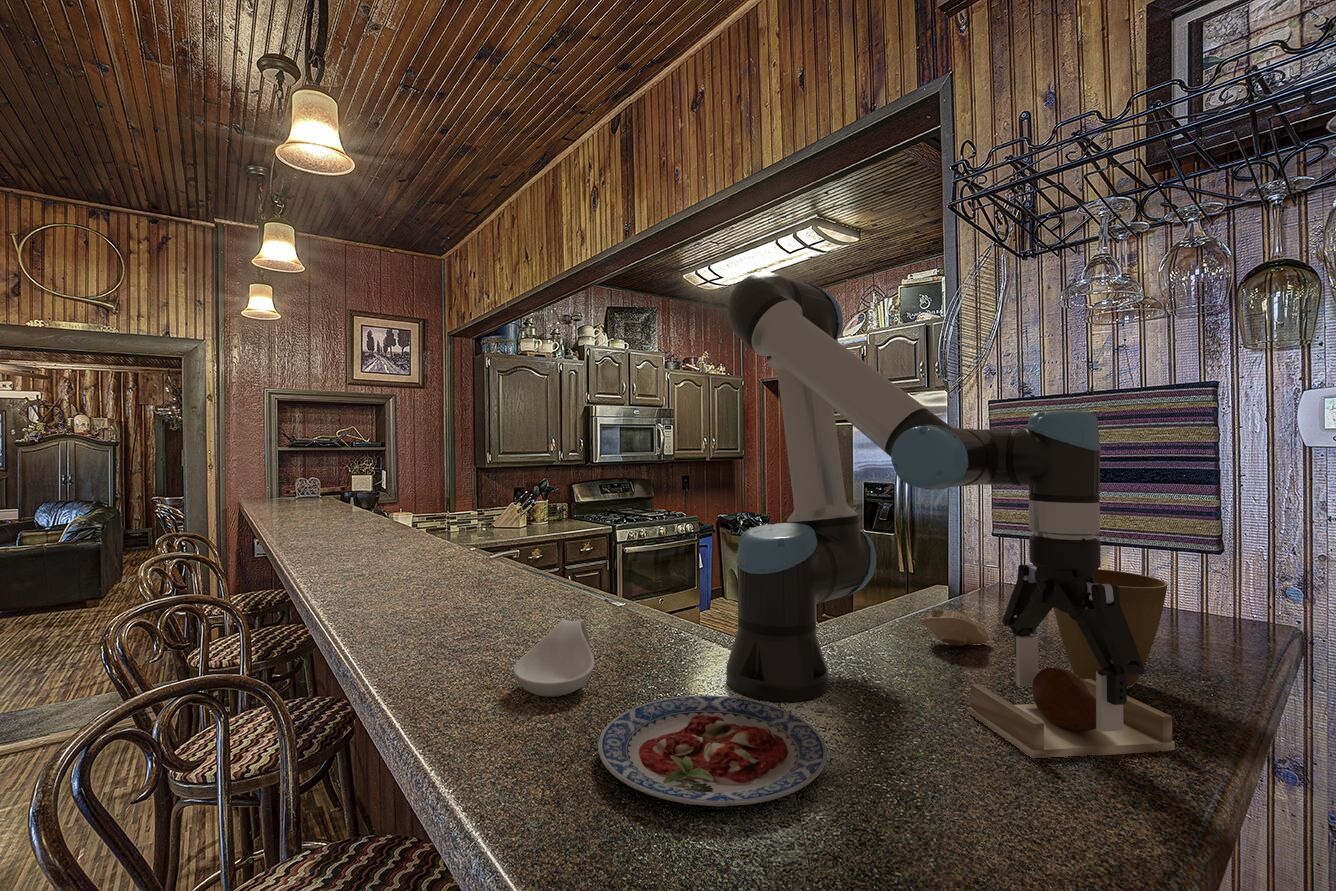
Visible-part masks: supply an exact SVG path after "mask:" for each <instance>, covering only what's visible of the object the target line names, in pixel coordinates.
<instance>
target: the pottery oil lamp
mask: <svg viewBox="0 0 1336 891" xmlns="http://www.w3.org/2000/svg"><path fill="white" fill-rule="evenodd" d="M922 621H923V622H922V623H923V625H924V627H926V629H927V630H928V631H929V632H930V633H931V634H932V635H934V636H935V637H936V638H938V639H939V640H940V641H941V642H942V643H945V644H948V645H952V646H961V647H962V646H966V645H968V646H974V645H973V644H982V643H985V644H987V643H988V642H989V641H990V637H989V635H988V632H987V631H986V630H985V629H983V628H981V627H980V626H979V625H977V624H976V623H975V622H973V620H972V619H970V617H969V616H968V615H966V614H965V613H964V612H962V611H959V610H954V609H953V610H951V609H945V610H940V609H935V610H931V613H930V614H929V615H927V616H926V618H924V619H923V620H922ZM986 642H987V643H986ZM965 644H966V645H965ZM971 644H972V645H971Z"/></svg>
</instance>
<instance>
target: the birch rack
mask: <svg viewBox="0 0 1336 891" xmlns="http://www.w3.org/2000/svg"><path fill="white" fill-rule="evenodd" d="M1082 681H1083V682H1084V683H1085V685H1086V687H1087V688H1088V690H1089V692H1090V693H1091V694H1092V695H1093V696H1094V697H1095V698H1096V681H1094V680H1092V679H1082ZM1126 696H1127V701H1126V704H1123V731H1106V732H1101V731H1099V730H1098V729H1094V730H1090V731H1073V730H1070V729H1066V728H1063V727H1060V726H1058V725H1056V724H1055V723H1054V722H1052V721H1051V720H1049V719H1047V718H1046V717H1045V716H1044V715H1043V714H1042V713H1041V712H1040V711H1039V709H1038V708H1037V706H1036V703H1028V704H1027V703H1026V704H1025V703H1023V704H1013V703H1011V702H1009V701H1008V700H1006V699H1005V698H1003V697H1001V696H1000V695H998V694H996V693H994V692H993V691H992V690H990V689H989V688H986V687H985V686H984V685H982V684H980V683H975V684H973V683H972V684H970V706H969V707H968V714H969V713H970V714H971V715H972V716H974V717H975V718H977V719H978V720H980V721H981V722H983V723H984V724H985V725H987V726H989V727H990V728H992V729H993V730H994V731H996V732H997V733H998V734H1000V735H1001V736H1002V737H1004V738H1005V739H1006V740H1008V741H1009V742H1011V743H1012V744H1014V745H1015V746H1016V747H1017V748H1019V749H1021V750H1022V751H1023V752H1025V753H1026V754H1028V755H1029V756H1030V757H1032V758H1040V757H1041V758H1043V757H1044V758H1045V757H1064V758H1072V757H1071V756H1080V757H1088V756H1087V755H1090V756H1089V757H1092V756H1091V755H1094V756H1095V755H1096V756H1111V755H1123V754H1124V755H1125V754H1127V755H1129V754H1139V753H1140V754H1142V753H1143V754H1144V752H1145V753H1159V751H1161V752H1173V751H1172V750H1175V746H1176V745H1175V741H1174V740H1173V716H1172V715H1170V714H1168V713H1165V712H1163V711H1162V710H1159V709H1157V708H1155V707H1152V706H1150V705H1148V704H1146V703H1144V702H1142V701H1139V700H1137V699H1135V698H1134V697H1131V696H1129V695H1128V694H1127V695H1126ZM1169 750H1170V751H1169ZM1084 755H1085V756H1084ZM1065 756H1066V757H1065ZM1068 756H1070V757H1068ZM1096 756H1095V757H1096Z"/></svg>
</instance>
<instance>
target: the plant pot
mask: <svg viewBox="0 0 1336 891" xmlns="http://www.w3.org/2000/svg"><path fill="white" fill-rule="evenodd" d="M1094 580H1095V583H1096V584H1116V585H1117V586H1118V589H1119V598H1120V605H1121V608H1122V611H1123V613H1124V616H1125V618H1126V621H1127V624H1128V626H1129V629H1130V632H1131V634H1132V637H1133V640H1134V642H1135V645H1136V648H1137V650H1138V653H1139V655H1140V658H1141V661H1142V663H1143V666H1144V667H1145V664H1146V662H1147V660H1148V657H1149V655H1150V652H1151V649H1152V647H1153V645H1154V642H1155V639H1156V636H1157V633H1158V630H1159V626H1160V622H1161V618H1162V614H1163V610H1164V606H1165V600H1166V597H1167V596H1166V595H1167V590H1168V585H1169V584H1168V583H1167V582H1166V581H1164V580H1162V579H1160V578H1156V577H1154V576H1153V577H1152V576H1149V575H1148V576H1147V575H1144V574H1138V573H1132V572H1127V571H1121V570H1120V571H1119V570H1113V569H1111V570H1110V569H1102V568H1101V569H1100V568H1098V569H1096V570H1095V572H1094ZM1085 609H1088V608H1087V606H1086V608H1085ZM1053 612H1054V615H1055V619H1056V623H1057V627H1058V632H1059V634H1060V637H1061V641H1062V645H1063V647H1064V651H1065V654H1066V656H1067V659H1068V662H1069V664H1070V667H1071V669H1072V673H1073V674H1074V675H1077V676H1078V677H1080V678H1082V679H1092V680H1094V681H1096V672H1099V671H1100V670H1101V669H1102V668H1101V667H1100V665H1099V663H1098V661H1097V659H1096V657H1095V655H1094V653H1093V652H1092V650H1091V648H1090V646H1089V644H1088V642H1087V640H1086V638H1085V637H1084V635H1083V633H1082V631H1081V629H1080V627H1079V625H1078V623H1077V622H1076V621H1075V620H1074V619H1072V618H1071V617H1070V616H1069V614H1068V613H1066V612H1063V611H1061V610H1059V609H1058V608H1053ZM1110 662H1111V664H1114V663H1113V661H1112V660H1110ZM1127 663H1129V661H1127ZM1140 675H1141V674H1139V675H1128V676H1127V687H1128V686H1131V685H1133V684H1136V683H1137V681H1138V679H1139V677H1140Z"/></svg>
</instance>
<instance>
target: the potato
mask: <svg viewBox="0 0 1336 891" xmlns="http://www.w3.org/2000/svg"><path fill="white" fill-rule="evenodd" d="M1031 687H1032V695H1033V700H1034V704H1036V706H1037V708H1038V709H1039V711H1040V712H1041V713H1042V714H1043V715H1044V716H1045V717H1046V718H1047V719H1049V720H1051V721H1052V722H1054V723H1055V724H1056V725H1058V726H1060V727H1063V728H1066V729H1070V730H1073V731H1090V730H1094V729H1096V698H1095V697H1094V696H1093V695H1092V694H1091V693H1090V692H1089V690H1088V688H1087V687H1086V685H1085V683H1084V682H1083V681H1082V680H1081V679H1080V678H1079V677H1077V676H1076V675H1075V674H1074V672H1073V671H1069V670H1068V669H1064V668H1059V667H1046V668H1043V669H1041V670H1040V671H1038V674H1037V675H1036V676H1035V678H1034V680H1033V686H1031Z"/></svg>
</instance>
